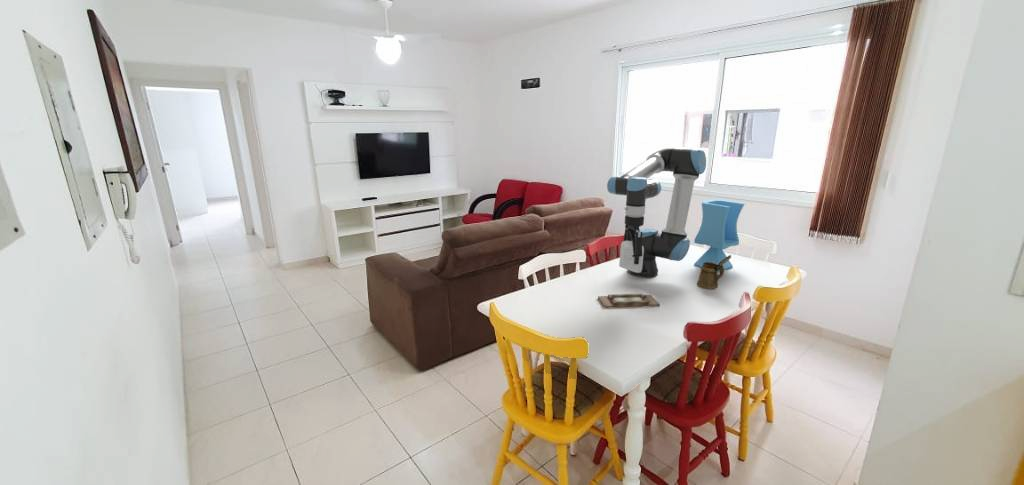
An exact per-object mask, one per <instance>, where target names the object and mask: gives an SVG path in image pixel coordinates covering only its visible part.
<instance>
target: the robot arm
mask: <svg viewBox="0 0 1024 485" xmlns="http://www.w3.org/2000/svg"><path fill="white" fill-rule="evenodd" d="M706 167H707V157H706V153H705V151H704V150H703V149H702V148H699V147H698V148H697V147H673V146H671V147H666V148H663V149H661V150H657V151H655V152H654V153H651V154H650V155H648V156H647V158H646V159H645V160H644V161H643V162H640V164H638V165H637V166H635V167H633V168H632V169H630V170H629V171H627V172H626V173H624V174H623V175H621V176H619V177H618V176H612V177H610V178H609V179H608V180H607V182H606V183H607V184H606V186H607V187H606V189H607V191H608V193H609V194H613V195H617V196H618V195H620V196H626V201H625V207H624V210H625V212H624V214H625V216H624V226H625V227H624V228H625V229H624V234H623V240H622V242H623V241H632V245H633V254H634V255H632V269H631V271H630V270H627V273H628V274H629V275H632V276H634V277H639V278H653V277H656V276H658V274H659V269H658V265H657V260H656V258H657V257H658V258H661V259H665V260H669V261H674V262H675V261H676V262H680V261H682V260H683V259H684V258H685V257H686V256H687V255H688V252H689V250H690V245H691V244H690V243H691V241H690V239H689V238H688V237H687V236H688V233H687V232H686V231H685V230H686V224H687V220H688V214H689V211H690V205H691V200H692V196H693V195H692V194H693V189H694V187H695V186H694V184H695V181H697V180H698V179H699V177H700V175H703V174H704V172H705V171H706ZM662 172H671V173H672V176H673V177H674V183H673V190H672V194H671V200H670V204H669V208H668V209H669V210H668V214H667V221H666V225H665V228H663V229H662V230H661V233H659V230H658V229H656V228H640V227H642V226H644V224H645V223H644V222H645V213H646V200H647V199H648V200H649V199H651V198H655V197H657V196H658V195H659V194H660V193H661V191H662V185H661V183H660V181H659V180H657V179H654V178H653V179H651V178H650V177H652V176H654V175H655V174H660V173H662ZM649 178H650V179H649ZM642 246H643V247H644V255H643V265H642V271H641V272H640V273H636V272H633V271H638V270H639V258H640V256H642Z"/></svg>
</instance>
